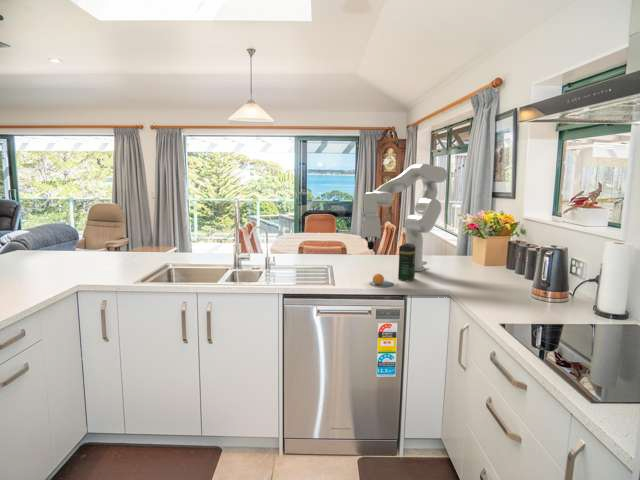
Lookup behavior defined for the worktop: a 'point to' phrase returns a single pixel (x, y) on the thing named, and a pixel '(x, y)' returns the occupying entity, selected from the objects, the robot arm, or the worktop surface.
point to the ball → (378, 279)
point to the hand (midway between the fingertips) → (370, 249)
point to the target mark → (383, 284)
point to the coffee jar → (406, 262)
